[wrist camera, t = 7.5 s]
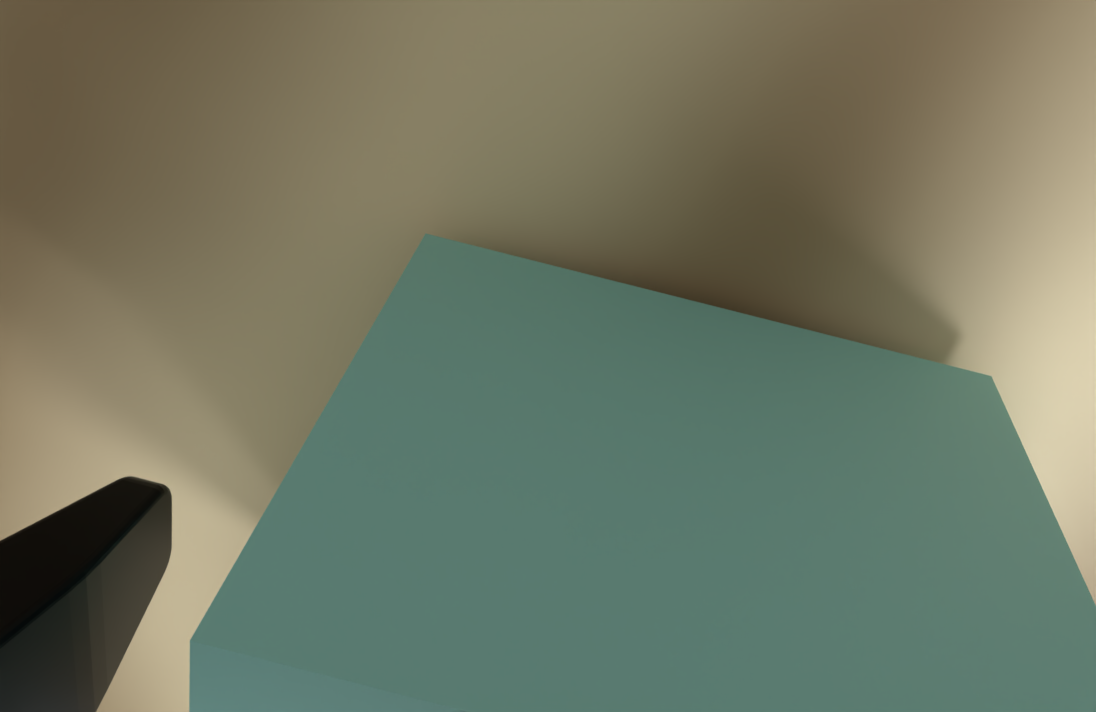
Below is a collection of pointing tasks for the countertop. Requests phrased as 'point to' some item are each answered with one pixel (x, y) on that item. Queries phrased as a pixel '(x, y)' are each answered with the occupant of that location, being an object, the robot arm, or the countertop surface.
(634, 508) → the teal cube with pad
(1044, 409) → the post board
